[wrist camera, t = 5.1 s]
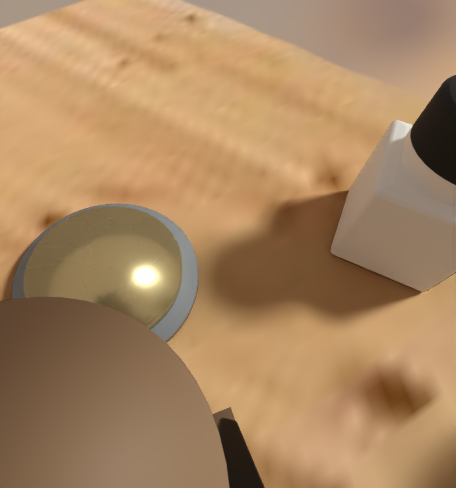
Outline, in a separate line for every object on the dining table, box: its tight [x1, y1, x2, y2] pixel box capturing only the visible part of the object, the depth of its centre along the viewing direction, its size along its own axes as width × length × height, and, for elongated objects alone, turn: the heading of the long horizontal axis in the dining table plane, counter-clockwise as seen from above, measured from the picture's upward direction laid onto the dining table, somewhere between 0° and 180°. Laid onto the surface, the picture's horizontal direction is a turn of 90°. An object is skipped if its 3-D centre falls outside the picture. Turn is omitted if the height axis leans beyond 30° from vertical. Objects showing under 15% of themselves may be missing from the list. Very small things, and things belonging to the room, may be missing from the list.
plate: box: [12, 204, 198, 343], centre depth 21 cm, size 11×11×1 cm
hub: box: [23, 206, 183, 330], centre depth 20 cm, size 9×9×1 cm
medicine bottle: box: [330, 75, 456, 292], centre depth 20 cm, size 7×7×12 cm
